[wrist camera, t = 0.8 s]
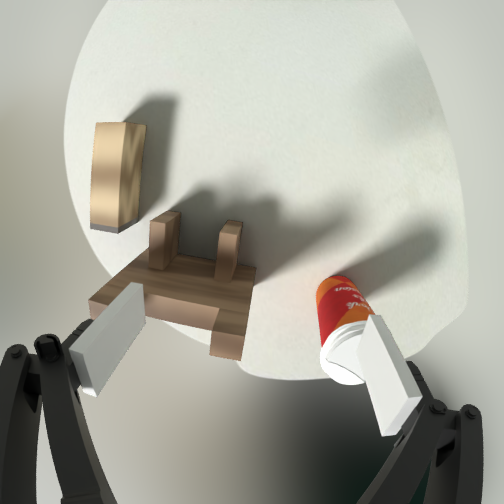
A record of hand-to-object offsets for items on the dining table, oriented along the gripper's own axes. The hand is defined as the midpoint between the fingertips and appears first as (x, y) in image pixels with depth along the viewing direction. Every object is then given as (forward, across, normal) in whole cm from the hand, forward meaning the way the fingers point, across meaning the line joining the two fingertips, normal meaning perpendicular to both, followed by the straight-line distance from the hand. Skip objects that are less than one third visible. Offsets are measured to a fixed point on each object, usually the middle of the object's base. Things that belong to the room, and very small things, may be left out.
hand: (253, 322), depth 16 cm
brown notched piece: (+23, -8, -5) cm, 25 cm away
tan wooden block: (+23, -20, +5) cm, 31 cm away
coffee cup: (+24, +11, -9) cm, 28 cm away
